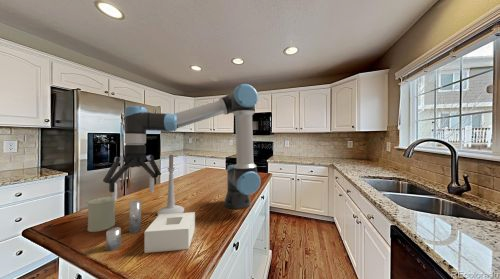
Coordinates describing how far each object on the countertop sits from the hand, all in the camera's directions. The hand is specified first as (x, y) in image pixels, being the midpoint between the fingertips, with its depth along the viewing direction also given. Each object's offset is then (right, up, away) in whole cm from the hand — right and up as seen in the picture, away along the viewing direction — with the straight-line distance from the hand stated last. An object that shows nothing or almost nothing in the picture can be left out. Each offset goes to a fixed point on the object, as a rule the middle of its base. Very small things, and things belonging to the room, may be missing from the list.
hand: (134, 196), depth 73 cm
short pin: (0, -14, -11) cm, 18 cm away
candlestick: (+6, -15, +19) cm, 25 cm away
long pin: (0, -14, 0) cm, 14 cm away
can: (-16, -15, +4) cm, 22 cm away
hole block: (+18, -14, -6) cm, 24 cm away
